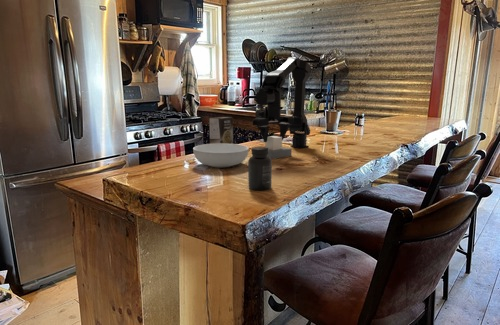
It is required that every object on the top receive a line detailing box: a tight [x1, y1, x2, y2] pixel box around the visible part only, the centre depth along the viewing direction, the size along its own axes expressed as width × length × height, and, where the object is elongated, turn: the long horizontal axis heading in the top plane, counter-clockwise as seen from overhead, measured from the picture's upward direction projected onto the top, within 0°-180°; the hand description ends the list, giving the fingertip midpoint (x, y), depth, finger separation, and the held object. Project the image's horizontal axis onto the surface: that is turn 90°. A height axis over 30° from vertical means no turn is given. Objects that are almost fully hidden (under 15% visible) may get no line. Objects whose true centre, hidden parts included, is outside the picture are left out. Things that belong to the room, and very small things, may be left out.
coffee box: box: [209, 116, 234, 144], centre depth 157 cm, size 9×6×16 cm
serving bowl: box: [192, 143, 250, 169], centre depth 137 cm, size 21×21×7 cm
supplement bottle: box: [247, 146, 273, 192], centre depth 106 cm, size 7×7×12 cm
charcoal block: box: [268, 146, 293, 160], centre depth 155 cm, size 11×11×4 cm
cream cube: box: [264, 135, 283, 150], centre depth 154 cm, size 5×5×5 cm
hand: (273, 141), depth 154 cm, fingers open, 9 cm apart
